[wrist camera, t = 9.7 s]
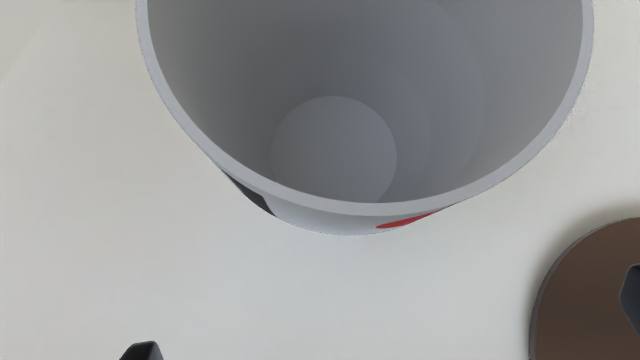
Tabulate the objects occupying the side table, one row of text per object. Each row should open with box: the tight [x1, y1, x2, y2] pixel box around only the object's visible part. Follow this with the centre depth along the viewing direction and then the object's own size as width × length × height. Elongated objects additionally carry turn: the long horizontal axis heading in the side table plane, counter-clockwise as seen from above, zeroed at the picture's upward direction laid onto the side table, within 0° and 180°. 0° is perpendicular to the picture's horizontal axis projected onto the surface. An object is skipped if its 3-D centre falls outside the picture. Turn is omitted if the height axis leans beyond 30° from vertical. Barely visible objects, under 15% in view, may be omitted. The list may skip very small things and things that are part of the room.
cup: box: [136, 0, 594, 235], centre depth 13 cm, size 8×8×10 cm
